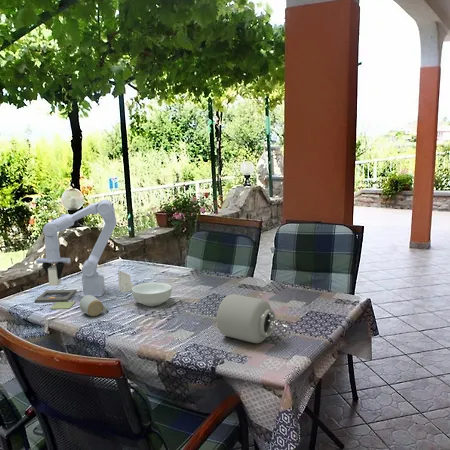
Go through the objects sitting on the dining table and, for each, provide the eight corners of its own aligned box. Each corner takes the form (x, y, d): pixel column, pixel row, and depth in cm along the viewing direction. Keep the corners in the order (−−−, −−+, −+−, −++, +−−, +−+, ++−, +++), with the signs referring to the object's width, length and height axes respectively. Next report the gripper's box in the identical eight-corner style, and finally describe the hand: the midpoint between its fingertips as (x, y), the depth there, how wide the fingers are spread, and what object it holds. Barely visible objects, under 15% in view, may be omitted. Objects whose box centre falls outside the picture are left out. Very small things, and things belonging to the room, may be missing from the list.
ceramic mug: (88, 319, 181) (87, 301, 180) (79, 314, 187) (78, 296, 185) (111, 313, 188) (111, 295, 187) (102, 308, 193) (101, 291, 192)
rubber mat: (75, 302, 201) (75, 301, 201) (69, 308, 193) (69, 308, 193) (56, 302, 201) (56, 302, 201) (50, 309, 193) (50, 308, 193)
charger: (61, 282, 210) (59, 265, 209) (57, 285, 205) (56, 268, 204) (53, 282, 210) (51, 265, 209) (49, 285, 205) (47, 268, 204)
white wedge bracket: (111, 288, 211) (118, 270, 214) (126, 294, 219) (132, 276, 222) (117, 290, 209) (123, 271, 212) (131, 295, 217) (137, 277, 220)
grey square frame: (76, 292, 216) (76, 288, 215) (66, 302, 202) (66, 298, 201) (46, 292, 215) (46, 289, 215) (34, 302, 202) (34, 299, 201)
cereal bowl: (180, 302, 198) (179, 286, 197) (149, 313, 186) (148, 296, 185) (155, 294, 210) (154, 279, 209) (124, 303, 198) (123, 288, 197)
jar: (249, 309, 174) (305, 315, 157) (236, 346, 168) (292, 357, 151) (219, 286, 163) (276, 290, 146) (203, 324, 157) (261, 333, 140)
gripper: (32, 251, 201) (35, 281, 203) (65, 250, 201) (68, 280, 203) (38, 248, 208) (41, 277, 210) (70, 247, 208) (73, 276, 210)
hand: (54, 278), depth 207 cm, fingers closed on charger, 4 cm apart
